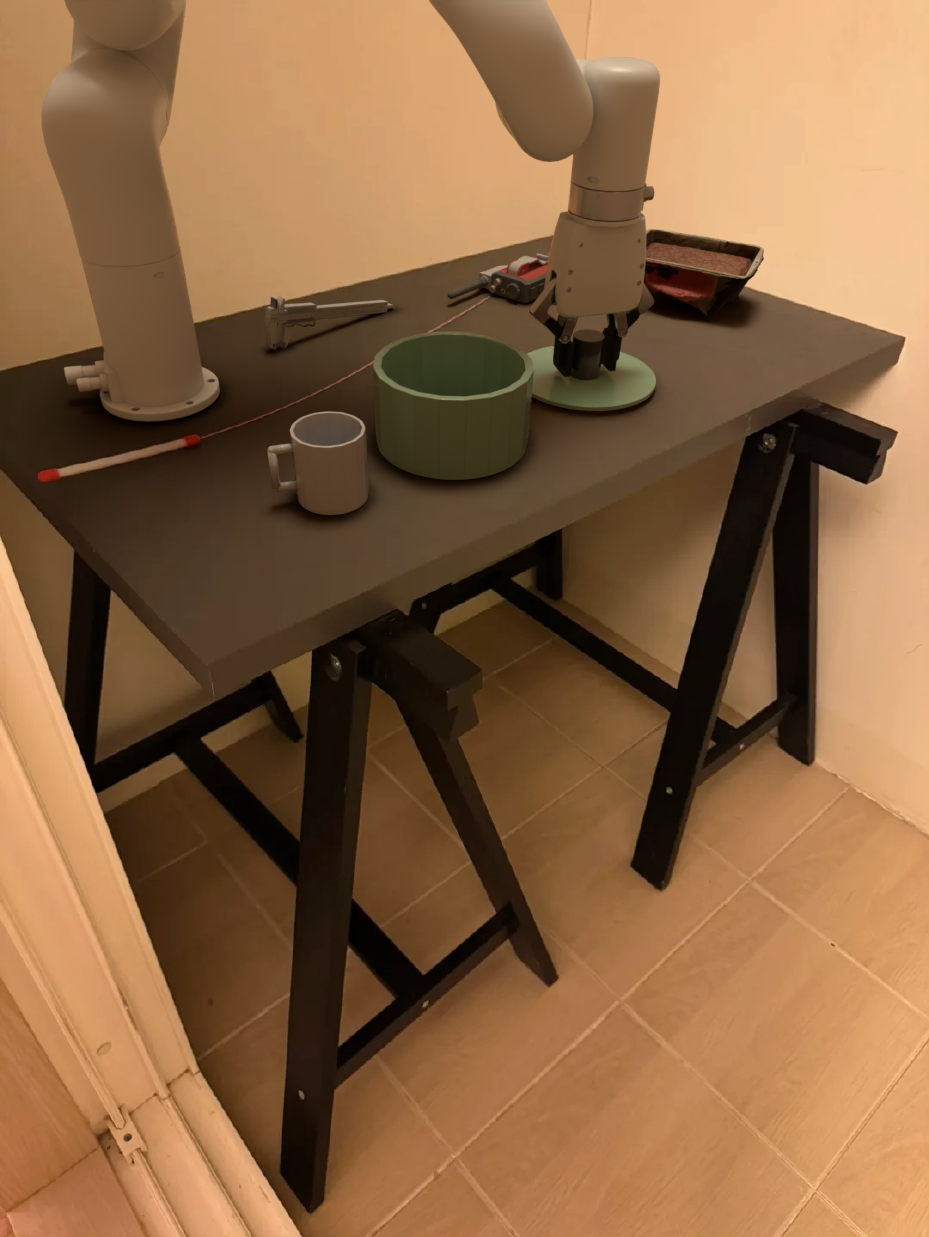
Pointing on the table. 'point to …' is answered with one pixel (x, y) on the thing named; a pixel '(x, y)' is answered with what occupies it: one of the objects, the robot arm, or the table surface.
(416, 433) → the pot
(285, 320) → the caliper
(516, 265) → the walkie-talkie
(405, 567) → the table surface
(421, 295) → the table surface
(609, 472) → the table surface
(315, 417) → the mug
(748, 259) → the baking dish
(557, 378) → the pot lid
